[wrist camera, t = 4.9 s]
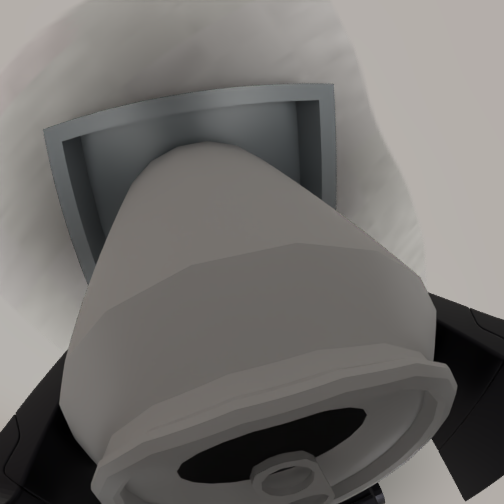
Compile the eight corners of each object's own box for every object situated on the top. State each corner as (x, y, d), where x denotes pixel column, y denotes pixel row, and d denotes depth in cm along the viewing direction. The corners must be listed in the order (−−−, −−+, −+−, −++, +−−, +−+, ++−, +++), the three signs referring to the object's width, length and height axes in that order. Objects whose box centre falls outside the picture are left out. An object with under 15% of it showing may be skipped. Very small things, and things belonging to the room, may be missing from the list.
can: (261, 117, 12) (552, 219, 2) (296, 260, 16) (437, 460, 6) (97, 176, 12) (-65, 434, 1) (161, 308, 16) (186, 551, 5)
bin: (309, 282, 19) (330, 311, 16) (124, 320, 17) (120, 356, 14) (304, 85, 13) (333, 83, 11) (67, 123, 11) (43, 129, 9)
